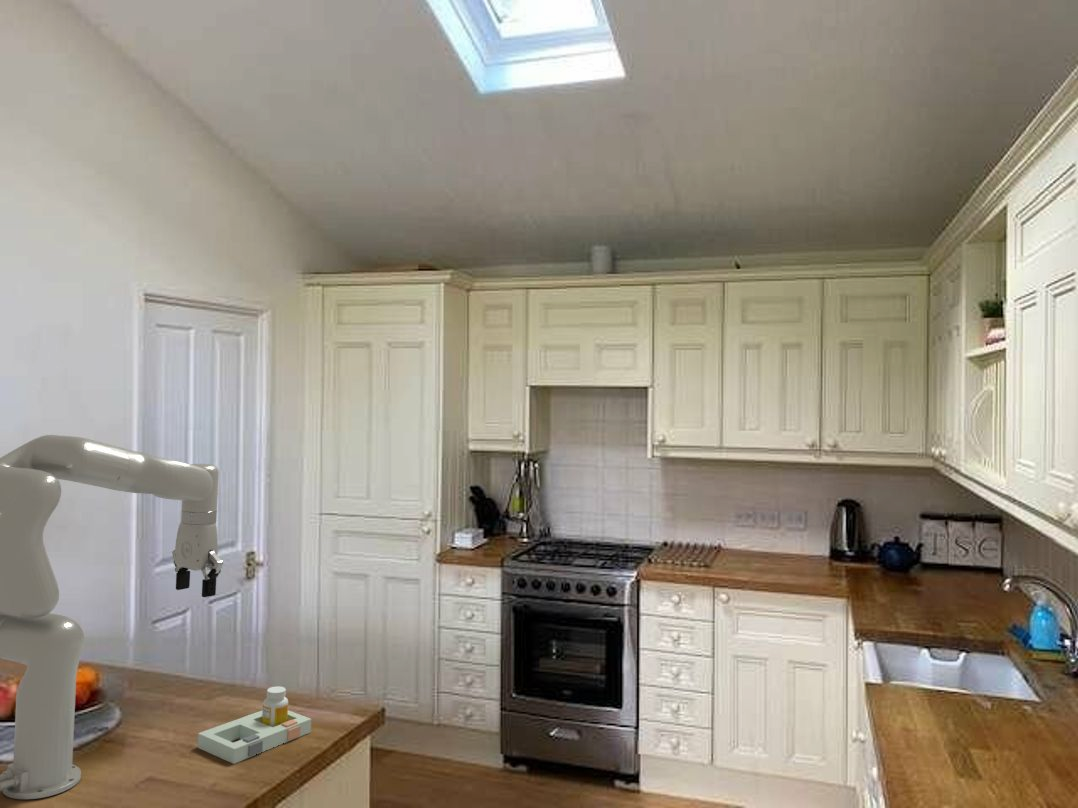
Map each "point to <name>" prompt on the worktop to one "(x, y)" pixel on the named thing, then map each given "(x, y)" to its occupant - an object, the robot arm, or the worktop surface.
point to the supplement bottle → (275, 707)
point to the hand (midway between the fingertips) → (195, 592)
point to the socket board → (251, 736)
